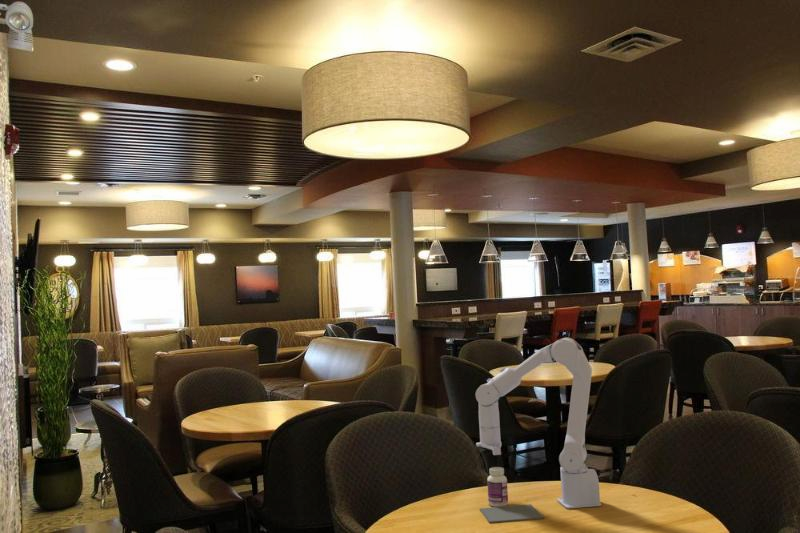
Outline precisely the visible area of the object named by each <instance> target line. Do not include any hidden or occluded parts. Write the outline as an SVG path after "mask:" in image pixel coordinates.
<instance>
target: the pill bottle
mask: <svg viewBox="0 0 800 533" xmlns="http://www.w3.org/2000/svg"><path fill="white" fill-rule="evenodd" d="M489 473H490V476H487V479H486V480H487V497H488V498H487V499H488V500H487V502H488V505H489V506H490V507H492V508H493V507H505V506H508V505H509V495H508V494H509V491H508V479H507V476H505V475H504V474H505V469H504V467H501V466H498V467H492V468H490V469H489Z"/></svg>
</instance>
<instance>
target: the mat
mask: <svg viewBox="0 0 800 533" xmlns="http://www.w3.org/2000/svg"><path fill="white" fill-rule="evenodd" d="M479 511H480V512H481V514H482V515H483V516H484V518H485V519H486V520H487V522H488V523H489V524H496V523H498V524H499V523H507V522H518V521H519V522H520V521H521V522H522V521H531V520H532V521H534V520H543V519H545V516H544V515H543V514H542V513H540V511H539V510H537V508H535V507H534V506H533V505H532V504H517V505H509V506H508V505H506V506H504V507H493V506H492V507H482V508H479Z"/></svg>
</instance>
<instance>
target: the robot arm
mask: <svg viewBox="0 0 800 533" xmlns="http://www.w3.org/2000/svg"><path fill="white" fill-rule="evenodd" d="M553 362H558V363H559V365H562V366H564V367H565V368H566V369H567V370H568V371H569V373H571V375H572V383H571V385H572V386H571V392H570V402H569V412H568V419H567V427H566V428H567V429H566V435H565V440H564V444H563V445H564V446H563V449H562V451H561V452H560V454H559V456H558V462H559V465H560V467H559V468H560V470H559V471H560V486H561V487H560V488H561V489H560V490H561V498H559V497H558V498H557V499H556V501H558V503H559V504H561V505H562V506H563V507H564V508H566V509H580V508H591V507H601V506H602V503H601V496H600V482H599V477H598V474H597V471H596V470H595V469H594V468H588V466H587V465H586V463H585V461H586V459H587V457H588V452H587V448H586V446H585V443H586V425H587V418H588V417H587V416H588V410H589V409H588V408H589V400H590V392H591V382H592V375H593V368H592V367H591V364H590V363H589V361H588V358H587V356H586V354H585V352H584V349H583V347H582V346H581V345H580V344H579V343H578V342H577V341H576V340H575V339H573V338H571V337H562V338H560V339H558V340H556V341H555V342H553V343H550V344H549V345H546V346H545V347H542V348H540V349H539V350H537V351H536V352H534V353H533V354H532V355H530V356H529V357H528V358H526V359H525V360H524V361H523V362H522V363H519V365H517V366H516V367H509V366H508V367H506V368H505V367H502V368H501V369H499V373H497V374H496V375H495V376H493V377H492V378H490V377H489V378H488V379H486V382H487V383H484V384H481V385H480V386H478V388H477V389H476V391H475V399H476V401H477V402H478V424H479V426H478V427H479V442H476V443H475V446H476V447H481V448H484V449H479V453H480V454H481V456H482V458H483V460H484V464H485V469H486V473H487V475H488V476H487V477H489V476H490V473H489V469H490V468H492V467H499V464H500V460H501V457H502V455H503V451H502V450H501V448H502V441H501V440H502V439H501V425H500V411H499V399H501V398H500V397H504V396H505V395H507V394H508V393H510V392H511V391H512V390H514V389H515V388H517V387H519V385H521V383H522V378H523V377H525V376H526V375H527V374H529V373H530V372H532V371H533V370H535V369H536V368H538V367H540V366H541V365H542V364H545V363H553Z"/></svg>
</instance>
